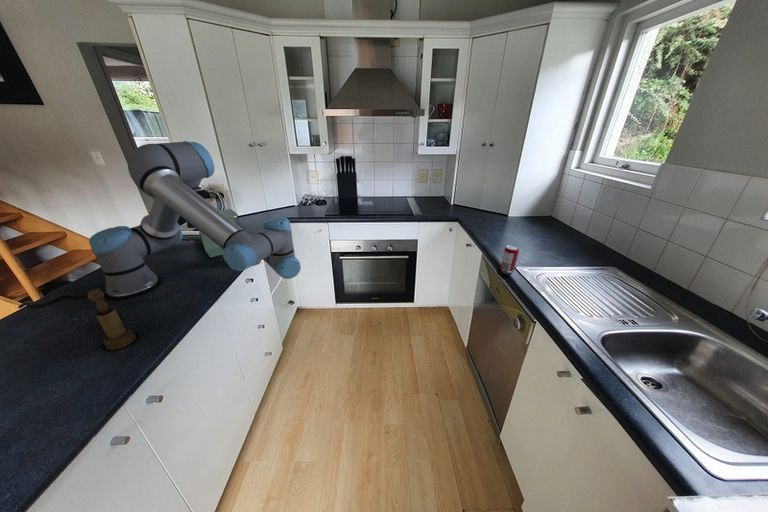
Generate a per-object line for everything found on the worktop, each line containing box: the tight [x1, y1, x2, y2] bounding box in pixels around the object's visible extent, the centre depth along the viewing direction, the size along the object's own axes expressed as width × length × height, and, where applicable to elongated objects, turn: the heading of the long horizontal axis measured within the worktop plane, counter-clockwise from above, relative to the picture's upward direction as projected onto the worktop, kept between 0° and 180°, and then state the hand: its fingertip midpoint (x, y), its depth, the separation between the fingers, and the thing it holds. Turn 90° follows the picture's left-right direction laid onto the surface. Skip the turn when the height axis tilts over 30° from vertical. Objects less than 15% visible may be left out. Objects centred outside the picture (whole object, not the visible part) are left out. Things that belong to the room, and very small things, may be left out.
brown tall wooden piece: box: [86, 288, 137, 351], centre depth 76 cm, size 7×6×18 cm
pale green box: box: [198, 208, 239, 258], centre depth 133 cm, size 16×12×19 cm
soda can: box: [499, 244, 520, 275], centre depth 118 cm, size 6×6×12 cm
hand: (253, 236), depth 112 cm, fingers open, 13 cm apart
